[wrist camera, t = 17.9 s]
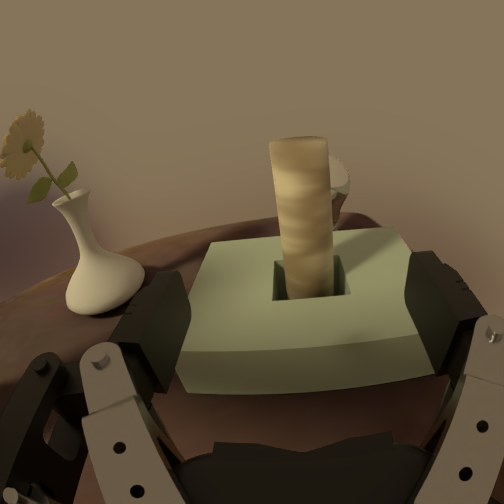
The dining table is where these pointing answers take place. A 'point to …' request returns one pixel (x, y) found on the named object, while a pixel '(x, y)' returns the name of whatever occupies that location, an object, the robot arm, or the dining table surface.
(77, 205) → the flower in vase
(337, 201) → the light bulb
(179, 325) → the robot arm
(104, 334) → the dining table surface
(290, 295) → the peg
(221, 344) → the hole block
